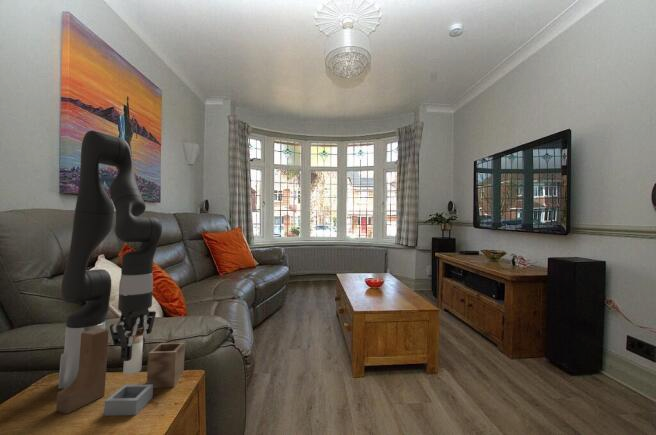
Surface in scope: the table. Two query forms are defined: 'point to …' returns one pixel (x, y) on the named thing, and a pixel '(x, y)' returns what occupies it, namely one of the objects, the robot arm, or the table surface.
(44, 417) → the table surface
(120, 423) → the table surface
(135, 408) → the low socket
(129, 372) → the white and tan cylinder
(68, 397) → the wooden block
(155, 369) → the socket tower
